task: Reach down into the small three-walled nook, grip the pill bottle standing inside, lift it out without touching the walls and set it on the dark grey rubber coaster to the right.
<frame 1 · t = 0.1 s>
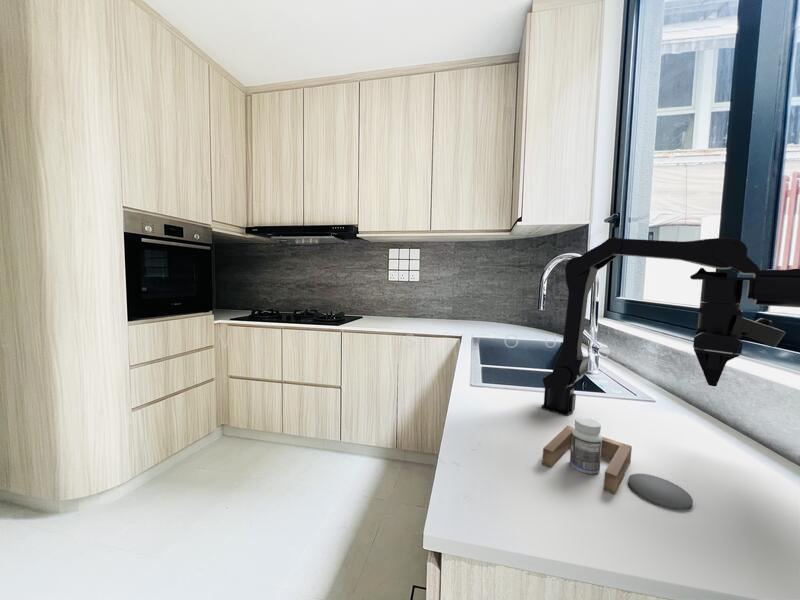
hand: (712, 381, 64), 15 cm above the countertop, tool pointing down, fingers open, 9 cm apart
coaster: (658, 492, 51), on the countertop
nook: (584, 466, 58), on the countertop
pill bottle: (584, 467, 58), on the countertop
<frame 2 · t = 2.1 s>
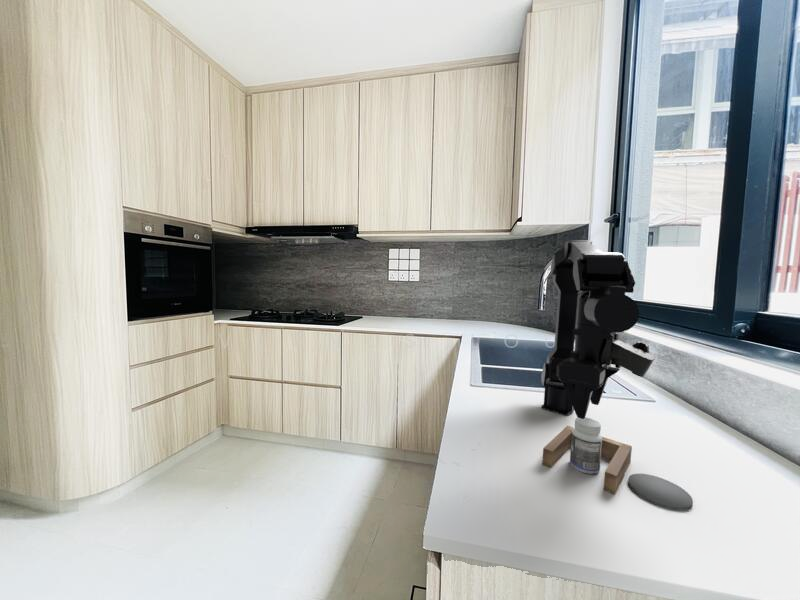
hand: (588, 410, 57), 10 cm above the countertop, tool pointing down, fingers open, 9 cm apart
nothing on the countertop moved.
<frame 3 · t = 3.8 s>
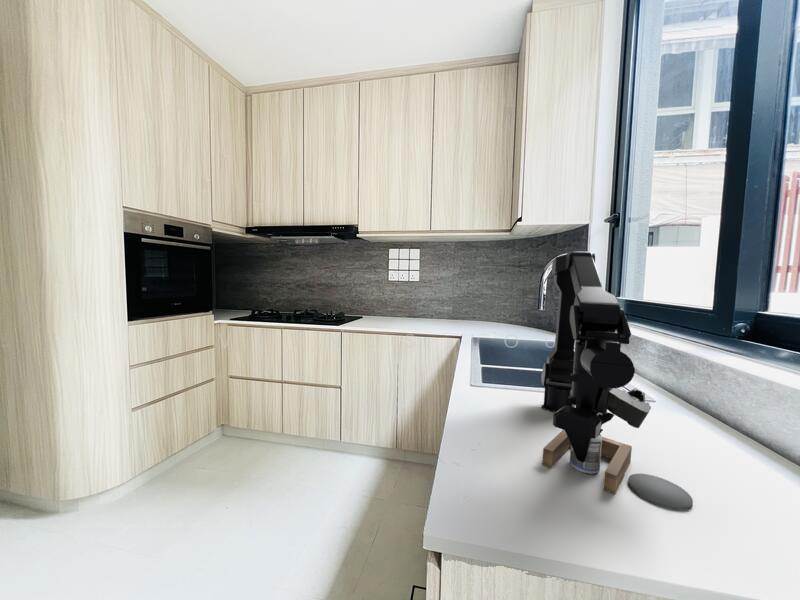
hand: (585, 455, 58), 2 cm above the countertop, tool pointing down, fingers closed on pill bottle, 5 cm apart
pill bottle: (584, 467, 58), on the countertop, touching gripper
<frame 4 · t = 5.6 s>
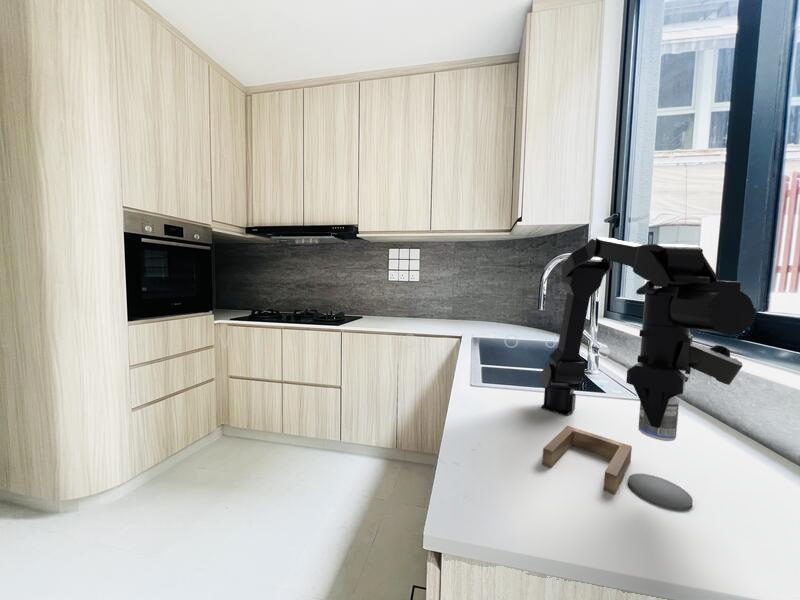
hand: (657, 422, 51), 11 cm above the countertop, tool pointing down, fingers closed on pill bottle, 5 cm apart
pill bottle: (656, 435, 51), point 9 cm above the countertop, touching gripper
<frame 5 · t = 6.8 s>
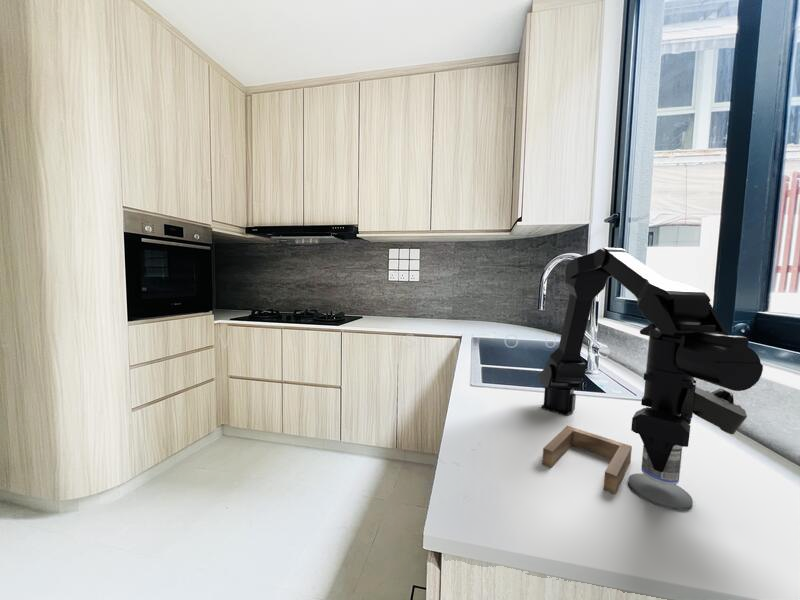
hand: (660, 464, 51), 5 cm above the countertop, tool pointing down, fingers closed on pill bottle, 5 cm apart
pill bottle: (659, 477, 51), point 2 cm above the countertop, touching gripper
when the fingers open (4 cm above the countertop, at t = 7.7 s): pill bottle drops 1 cm, resting on coaster.
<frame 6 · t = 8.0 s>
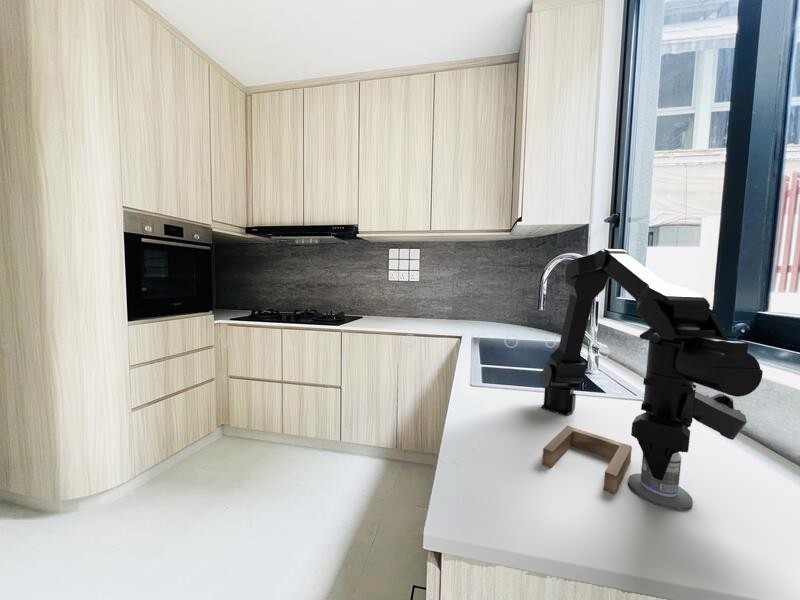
hand: (660, 469, 51), 4 cm above the countertop, tool pointing down, fingers open, 7 cm apart
pill bottle: (658, 489, 51), resting on coaster
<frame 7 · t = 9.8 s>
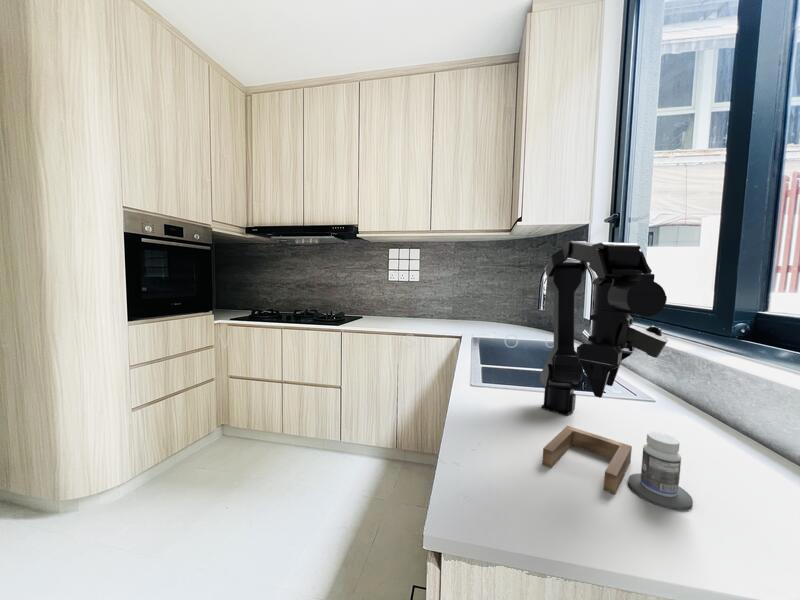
hand: (604, 390, 61), 13 cm above the countertop, tool pointing down, fingers open, 9 cm apart
nothing on the countertop moved.
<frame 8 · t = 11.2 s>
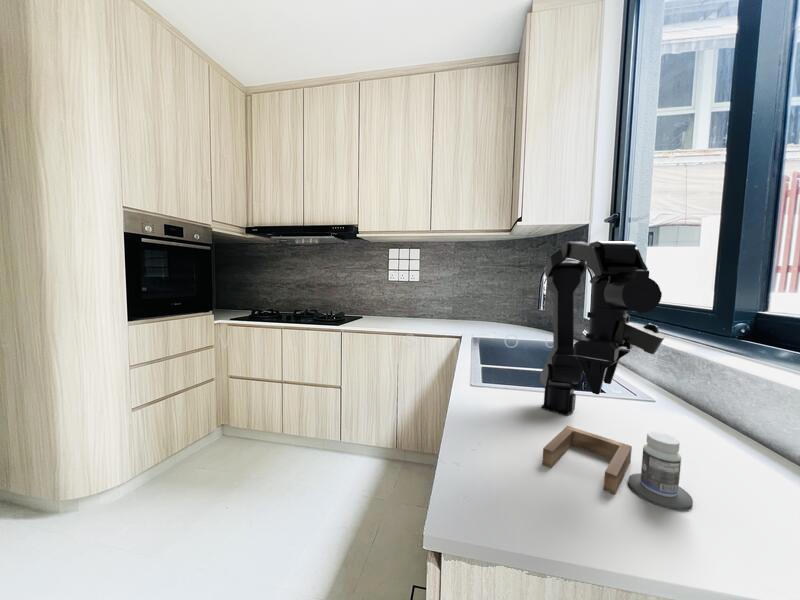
hand: (601, 388, 62), 13 cm above the countertop, tool pointing down, fingers open, 9 cm apart
nothing on the countertop moved.
at the end: pill bottle inside the target area on the coaster (0.1 cm from its centre), point 0.4 cm above the coaster's base; pill bottle tilted 0°; the gripper is holding nothing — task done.
